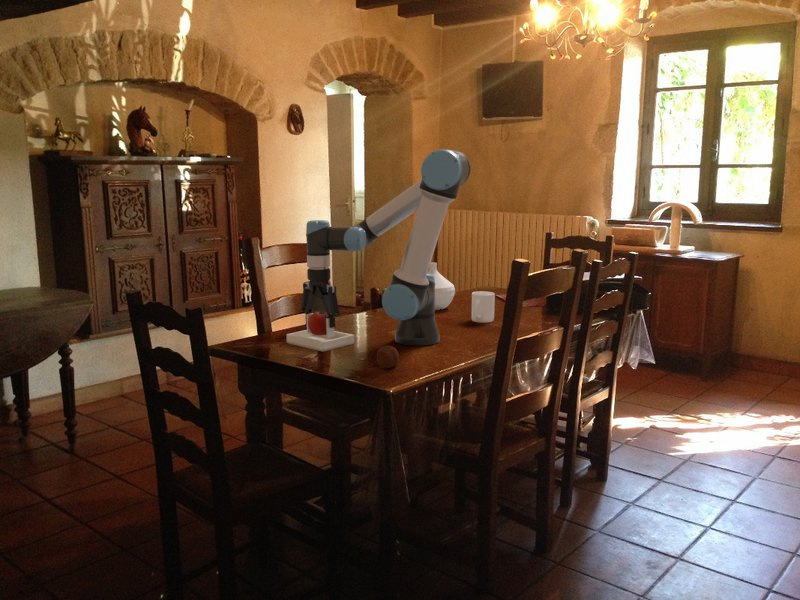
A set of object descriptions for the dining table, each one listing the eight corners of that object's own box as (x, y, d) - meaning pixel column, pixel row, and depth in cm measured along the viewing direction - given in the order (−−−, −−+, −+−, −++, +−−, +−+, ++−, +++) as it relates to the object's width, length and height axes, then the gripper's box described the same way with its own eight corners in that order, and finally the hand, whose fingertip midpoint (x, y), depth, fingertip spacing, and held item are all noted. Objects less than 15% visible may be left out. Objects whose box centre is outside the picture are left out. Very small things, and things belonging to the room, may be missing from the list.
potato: (369, 369, 204) (369, 347, 203) (383, 361, 212) (383, 340, 211) (391, 371, 201) (391, 349, 200) (404, 363, 210) (404, 342, 208)
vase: (413, 303, 306) (413, 259, 302) (456, 304, 303) (456, 260, 300) (408, 311, 288) (408, 265, 284) (453, 312, 285) (453, 266, 282)
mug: (464, 323, 265) (464, 295, 264) (476, 317, 276) (477, 290, 274) (485, 325, 261) (486, 297, 259) (497, 319, 272) (497, 292, 270)
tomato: (310, 332, 239) (309, 308, 238) (337, 332, 239) (336, 308, 238) (305, 338, 230) (305, 314, 229) (333, 338, 230) (333, 314, 228)
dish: (354, 343, 234) (354, 335, 233) (323, 351, 224) (322, 342, 223) (318, 335, 246) (317, 327, 245) (286, 342, 235) (286, 334, 235)
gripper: (350, 269, 226) (351, 337, 230) (305, 263, 240) (307, 328, 244) (333, 271, 220) (334, 341, 224) (288, 266, 235) (290, 331, 239)
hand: (320, 334), depth 234 cm, fingers closed on tomato, 9 cm apart
